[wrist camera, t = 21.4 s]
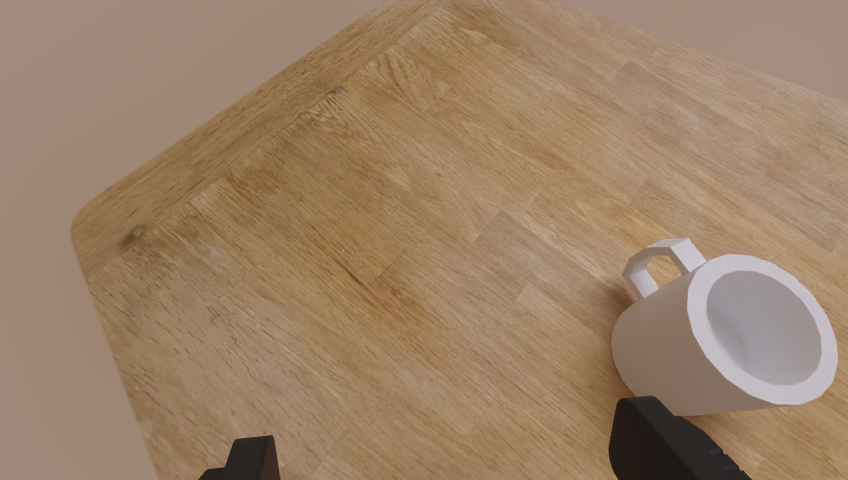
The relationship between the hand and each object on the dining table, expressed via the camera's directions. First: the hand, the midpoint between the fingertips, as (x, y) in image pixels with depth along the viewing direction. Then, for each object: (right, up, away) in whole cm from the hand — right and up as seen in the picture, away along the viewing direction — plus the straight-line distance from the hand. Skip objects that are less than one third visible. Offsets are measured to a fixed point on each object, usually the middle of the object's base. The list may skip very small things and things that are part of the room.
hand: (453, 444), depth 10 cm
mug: (+21, -5, +29) cm, 36 cm away
